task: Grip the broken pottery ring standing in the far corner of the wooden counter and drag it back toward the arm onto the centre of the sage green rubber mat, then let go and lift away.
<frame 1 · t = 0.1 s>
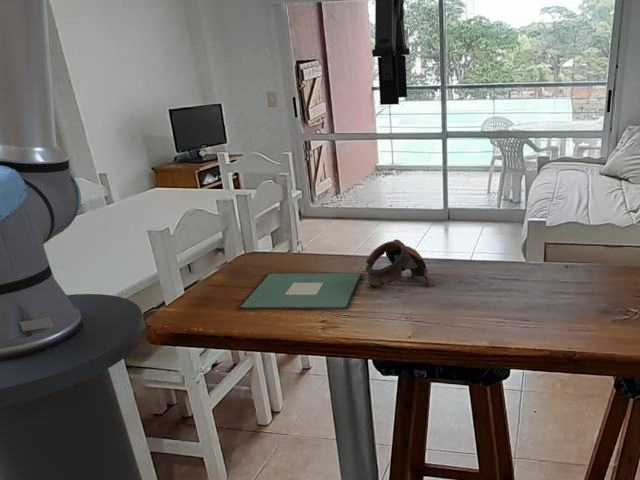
hand: (394, 100, 92), 27 cm above the counter, tool pointing down, fingers open, 13 cm apart
centre mat: (304, 290, 92), on the counter
broken pottery ring: (399, 284, 94), on the counter
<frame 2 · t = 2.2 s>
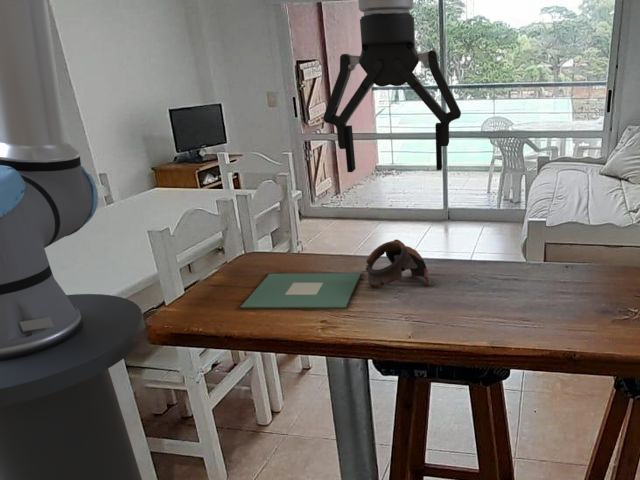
hand: (395, 169, 88), 18 cm above the counter, tool pointing down, fingers open, 13 cm apart
nothing on the counter moved.
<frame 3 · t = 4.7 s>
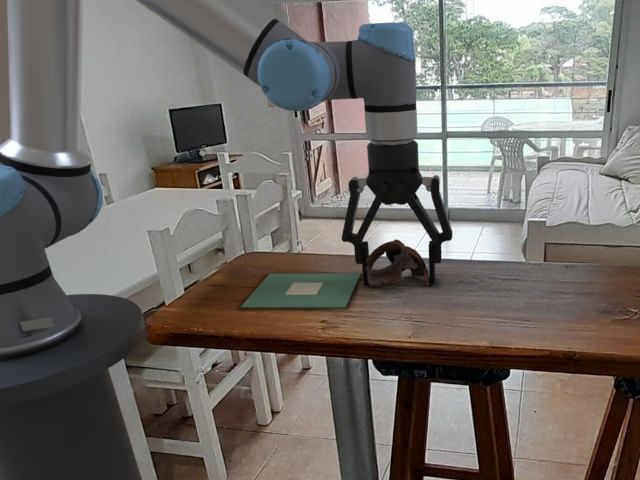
hand: (399, 281, 93), 0 cm above the counter, tool pointing down, fingers closed on broken pottery ring, 10 cm apart
broken pottery ring: (399, 284, 94), on the counter, touching gripper
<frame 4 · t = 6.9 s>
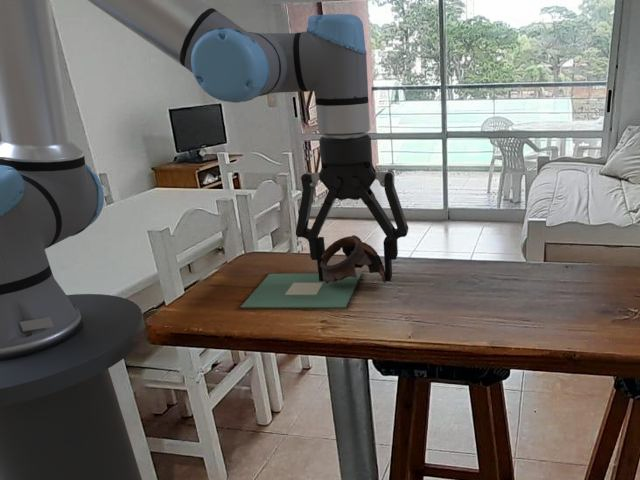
hand: (356, 278, 92), 1 cm above the counter, tool pointing down, fingers closed on broken pottery ring, 10 cm apart
broken pottery ring: (355, 280, 92), point 1 cm above the counter, touching gripper
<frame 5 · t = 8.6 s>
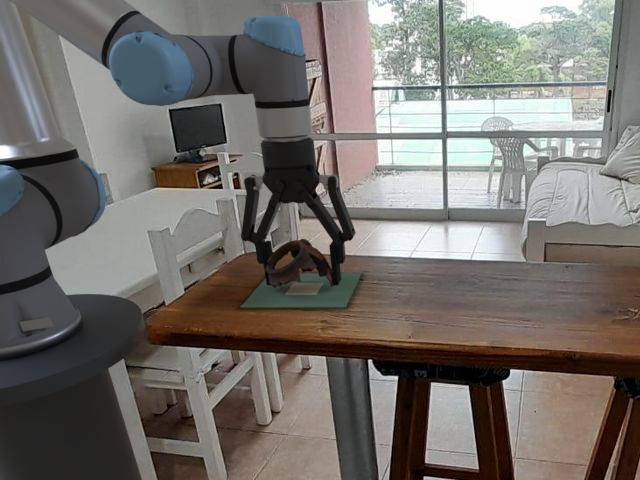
hand: (304, 282, 91), 1 cm above the counter, tool pointing down, fingers closed on broken pottery ring, 10 cm apart
broken pottery ring: (304, 284, 92), point 1 cm above the counter, touching gripper
when the fingers open (1 cm above the counter, at t = 9.6 s): broken pottery ring stays where it is, resting on centre mat.
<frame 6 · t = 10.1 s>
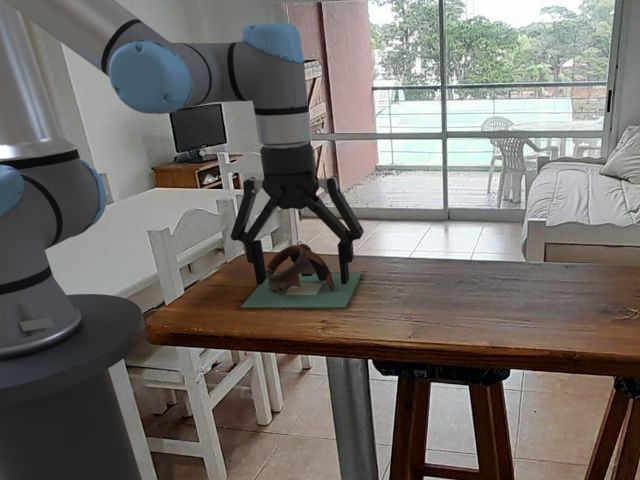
hand: (303, 281, 91), 2 cm above the counter, tool pointing down, fingers open, 13 cm apart
broken pottery ring: (303, 289, 92), resting on centre mat
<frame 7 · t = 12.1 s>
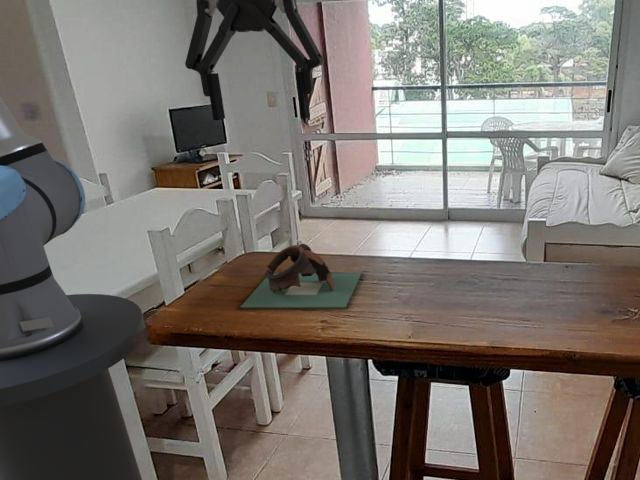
hand: (262, 118, 88), 26 cm above the counter, tool pointing down, fingers open, 13 cm apart
nothing on the counter moved.
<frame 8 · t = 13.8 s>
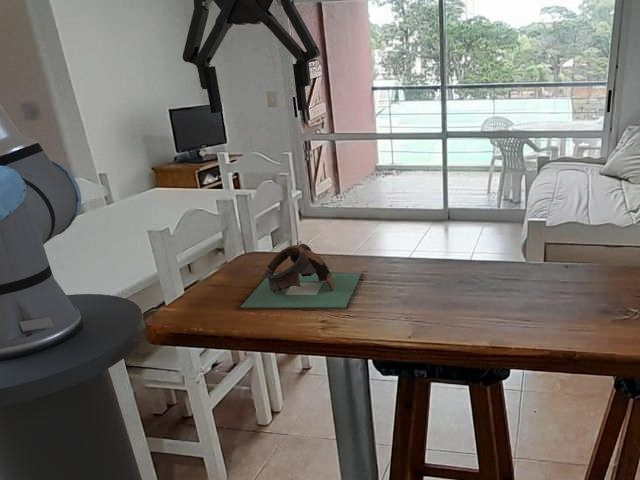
hand: (259, 111, 88), 27 cm above the counter, tool pointing down, fingers open, 13 cm apart
nothing on the counter moved.
at the end: broken pottery ring inside the target area (0.1 cm from its centre), resting on centre mat; broken pottery ring tilted 0°; broken pottery ring moved 15.4 cm from its start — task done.
